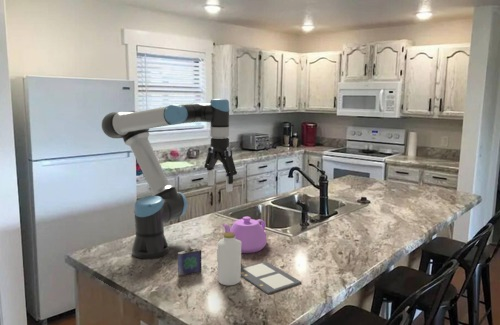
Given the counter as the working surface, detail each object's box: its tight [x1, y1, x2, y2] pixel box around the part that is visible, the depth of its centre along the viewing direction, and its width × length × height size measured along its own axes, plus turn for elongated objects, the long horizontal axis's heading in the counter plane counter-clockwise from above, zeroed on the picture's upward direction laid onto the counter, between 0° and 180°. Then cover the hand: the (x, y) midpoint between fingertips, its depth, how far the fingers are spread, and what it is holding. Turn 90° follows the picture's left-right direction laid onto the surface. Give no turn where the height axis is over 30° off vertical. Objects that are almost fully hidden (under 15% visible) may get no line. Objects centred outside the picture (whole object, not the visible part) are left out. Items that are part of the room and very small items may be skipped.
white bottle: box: [217, 232, 242, 286], centre depth 148 cm, size 8×8×18 cm
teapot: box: [221, 216, 267, 254], centre depth 182 cm, size 25×18×14 cm
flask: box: [177, 245, 202, 277], centre depth 156 cm, size 9×3×11 cm, turn 117°
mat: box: [241, 260, 302, 295], centre depth 154 cm, size 15×22×1 cm
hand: (219, 188), depth 171 cm, fingers open, 13 cm apart
